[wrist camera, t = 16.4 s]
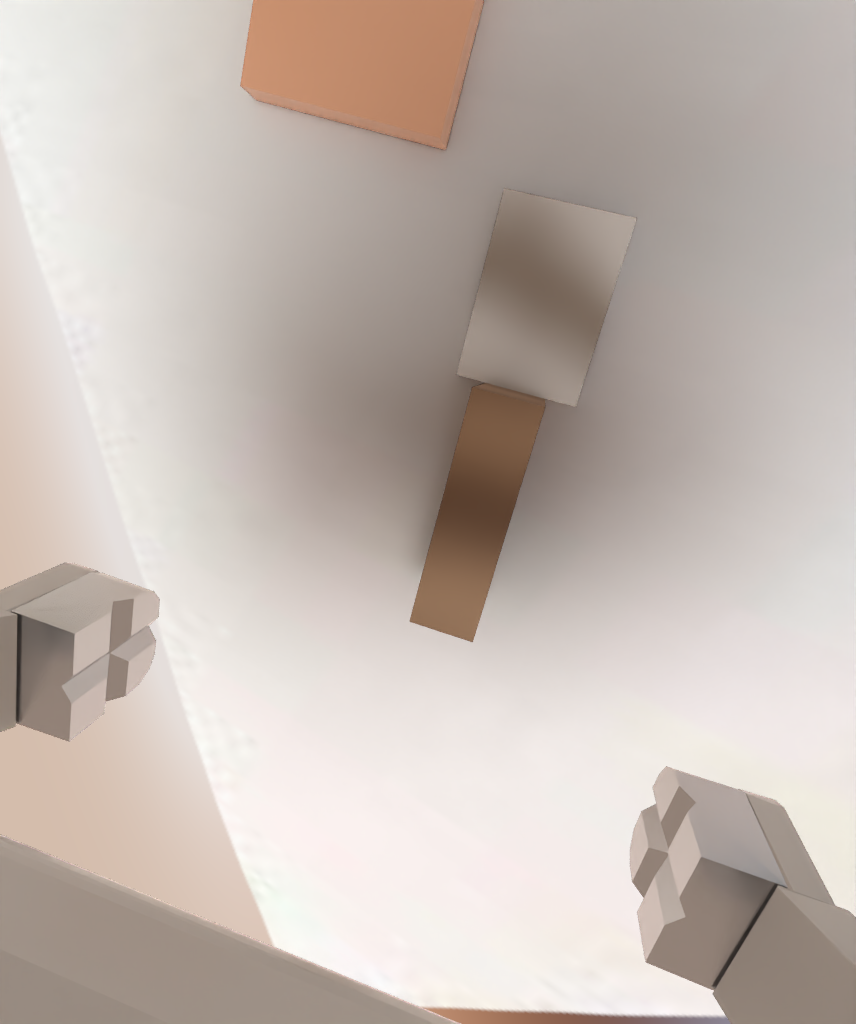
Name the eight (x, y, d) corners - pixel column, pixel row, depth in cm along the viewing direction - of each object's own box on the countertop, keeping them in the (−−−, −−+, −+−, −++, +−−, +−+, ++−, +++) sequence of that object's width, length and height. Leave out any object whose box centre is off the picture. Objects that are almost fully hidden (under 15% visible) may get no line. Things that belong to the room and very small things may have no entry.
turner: (512, 599, 26) (504, 652, 21) (408, 566, 26) (378, 611, 22) (634, 221, 21) (660, 181, 16) (505, 192, 22) (493, 145, 17)
